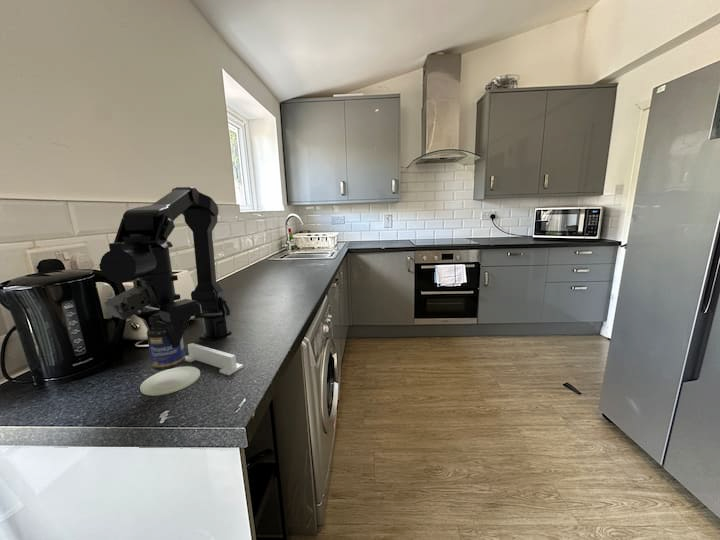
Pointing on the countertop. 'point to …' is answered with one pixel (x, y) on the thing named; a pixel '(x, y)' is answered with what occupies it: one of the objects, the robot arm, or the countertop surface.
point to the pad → (170, 381)
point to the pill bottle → (163, 346)
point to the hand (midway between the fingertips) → (166, 344)
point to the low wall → (213, 358)
